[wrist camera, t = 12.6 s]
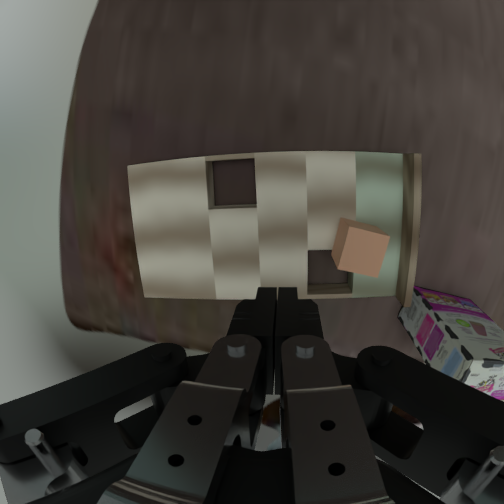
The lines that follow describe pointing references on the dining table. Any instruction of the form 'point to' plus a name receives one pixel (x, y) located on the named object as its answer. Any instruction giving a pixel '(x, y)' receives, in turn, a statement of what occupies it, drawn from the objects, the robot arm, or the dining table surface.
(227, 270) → the checkered shape sorter board
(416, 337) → the candy bar box
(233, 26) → the dining table surface
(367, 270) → the block
